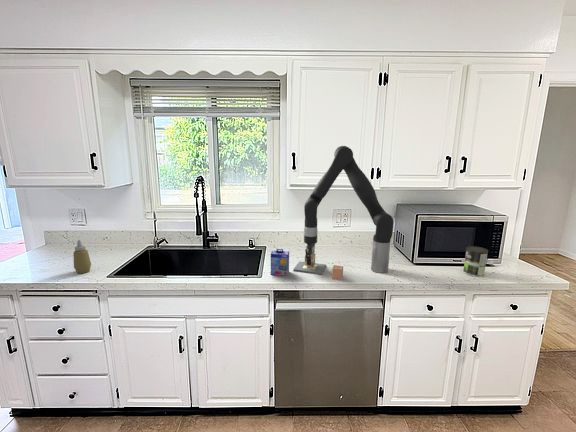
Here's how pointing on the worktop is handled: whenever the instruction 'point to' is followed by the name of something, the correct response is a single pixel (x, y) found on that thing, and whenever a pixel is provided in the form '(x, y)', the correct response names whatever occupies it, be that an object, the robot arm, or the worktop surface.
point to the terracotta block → (337, 272)
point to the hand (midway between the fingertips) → (310, 262)
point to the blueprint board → (310, 268)
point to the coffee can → (475, 261)
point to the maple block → (311, 260)
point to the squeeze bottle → (81, 259)
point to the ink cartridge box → (279, 262)
